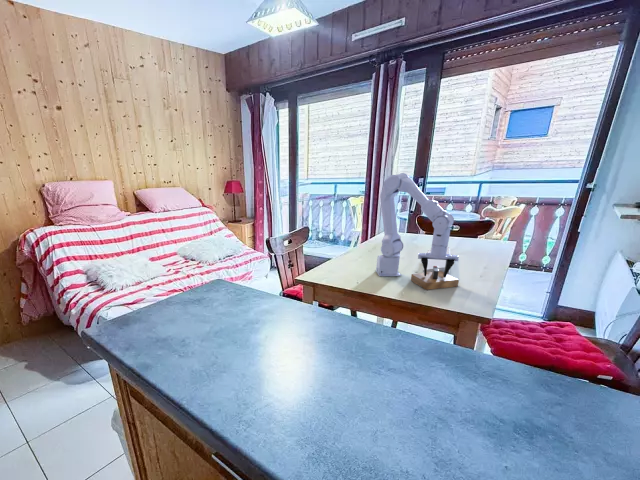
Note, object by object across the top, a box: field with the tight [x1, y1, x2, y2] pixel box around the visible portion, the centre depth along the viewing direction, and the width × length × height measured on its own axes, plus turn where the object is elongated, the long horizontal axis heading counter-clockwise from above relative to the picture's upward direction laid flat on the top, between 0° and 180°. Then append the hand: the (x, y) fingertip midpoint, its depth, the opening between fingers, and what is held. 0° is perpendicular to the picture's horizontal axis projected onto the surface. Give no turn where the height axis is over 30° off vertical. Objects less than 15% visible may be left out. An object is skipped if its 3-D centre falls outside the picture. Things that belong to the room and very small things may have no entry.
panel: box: [410, 271, 460, 291], centre depth 138 cm, size 14×11×3 cm
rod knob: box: [432, 266, 439, 279], centre depth 136 cm, size 6×2×4 cm, turn 156°
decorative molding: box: [422, 246, 451, 275], centre depth 159 cm, size 34×5×10 cm
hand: (434, 275), depth 137 cm, fingers open, 7 cm apart
